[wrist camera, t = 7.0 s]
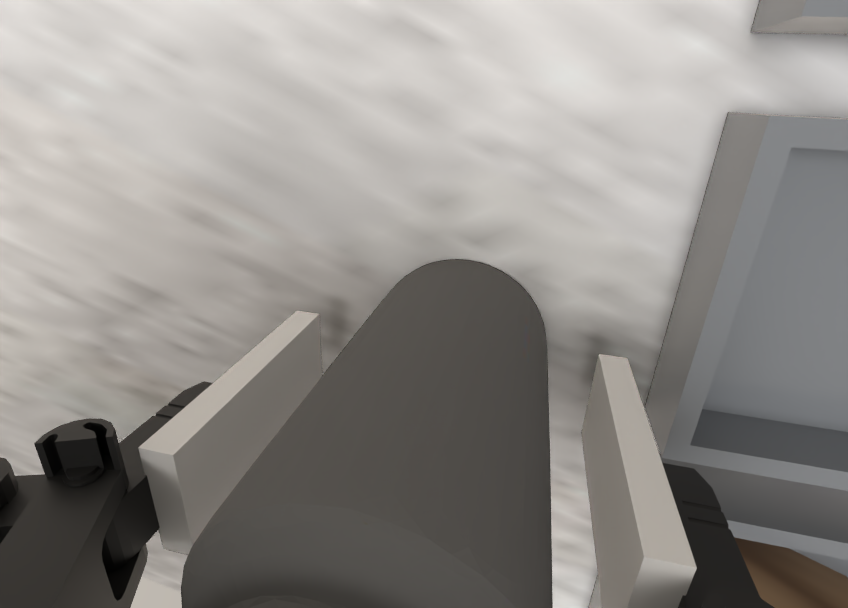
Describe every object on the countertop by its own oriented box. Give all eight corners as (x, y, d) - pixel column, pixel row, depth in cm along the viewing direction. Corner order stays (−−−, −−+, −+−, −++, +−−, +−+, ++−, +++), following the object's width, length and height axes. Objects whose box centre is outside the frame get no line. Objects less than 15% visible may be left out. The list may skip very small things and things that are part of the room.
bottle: (562, 398, 17) (649, 1686, 3) (406, 416, 18) (38, 1283, 5) (526, 239, 15) (367, 1740, 1) (357, 276, 16) (-450, 1057, 3)
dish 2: (585, 619, 20) (590, 683, 18) (633, 449, 17) (647, 504, 14) (827, 678, 19) (866, 757, 16) (941, 504, 15) (1011, 575, 13)
